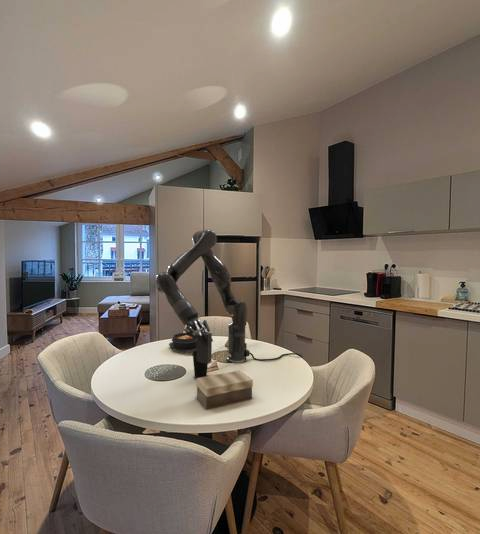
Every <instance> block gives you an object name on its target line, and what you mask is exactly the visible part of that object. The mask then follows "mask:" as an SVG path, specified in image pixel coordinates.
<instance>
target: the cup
mask: <svg viewBox="0 0 480 534" xmlns="http://www.w3.org/2000/svg"><path fill="white" fill-rule="evenodd" d="M192 362H193V363H192V364H193V372H194V373H193V374H194V379H196V380H197V378H201V377H206V376H208V366H209V363H208V364H206V363H202V362H198V361H197V350H195V351H193V352H192Z"/></svg>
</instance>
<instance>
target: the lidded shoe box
mask: <svg viewBox="0 0 480 534" xmlns="http://www.w3.org/2000/svg"><path fill="white" fill-rule="evenodd" d="M253 384H254V379H253V378H252V377H250V376H248V375H247V374H246V373H244V372H243V371H242V370H240V369H239V370H235V371H229V372H222V373H218V374H213V375H207V376H206V377H201V378H197V379H196V398H197V400H198V401H199V402H200V404H201V405H202V406H203V408H205V410H209V409H212V408H217V407H222V406H225V405H231V404H234V403H238V402H243V401H247V400H251V399H253V386H254V385H253Z"/></svg>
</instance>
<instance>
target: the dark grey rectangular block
mask: <svg viewBox="0 0 480 534" xmlns="http://www.w3.org/2000/svg"><path fill="white" fill-rule="evenodd" d="M201 334H202V336H203V337H204V338H205V339H206V341H207V342H208V344H207V345H205V346H203V345H202V343H201V342H200V341H199V339H197V361H198V362H202V363H206V364H208V365H209V364H210V363H212V358H213V357H212V356H213V355H212V353H213V350H212V349H213V346H212V344H213V341H212V339H213V333H212V332H209V333H207V332H204V331H203V332H201Z"/></svg>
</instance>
